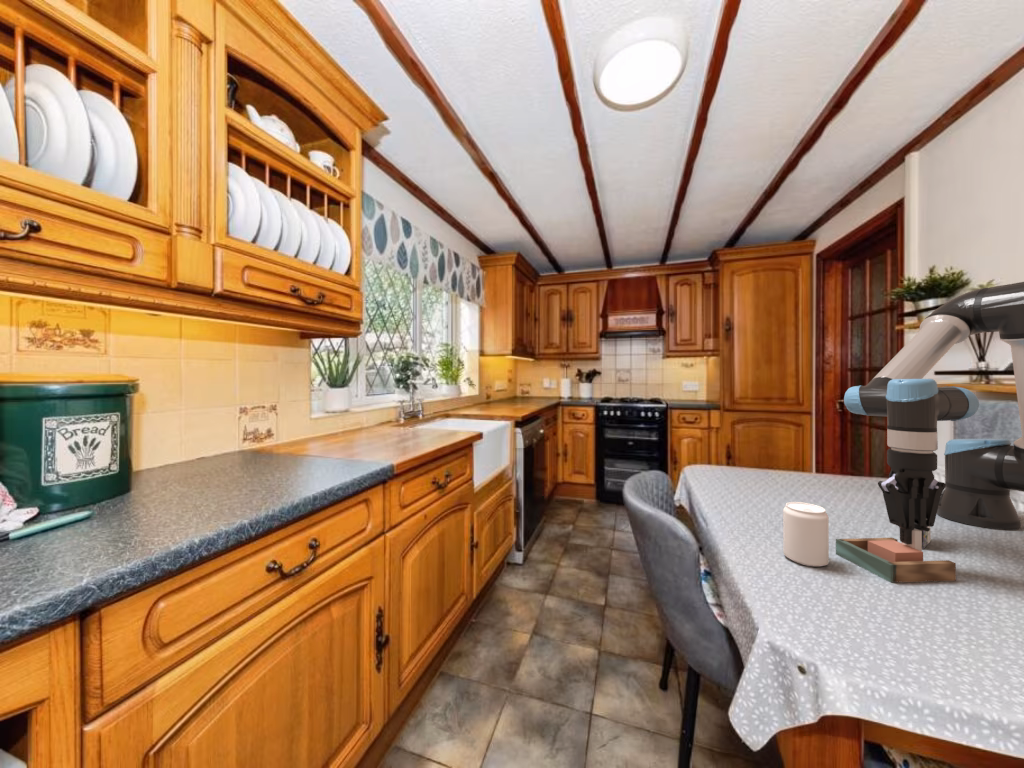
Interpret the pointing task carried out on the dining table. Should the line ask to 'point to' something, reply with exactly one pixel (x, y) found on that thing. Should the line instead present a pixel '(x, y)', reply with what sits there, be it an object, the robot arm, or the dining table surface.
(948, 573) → the bay
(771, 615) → the dining table surface
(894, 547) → the terracotta brick
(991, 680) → the dining table surface
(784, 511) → the beverage can
